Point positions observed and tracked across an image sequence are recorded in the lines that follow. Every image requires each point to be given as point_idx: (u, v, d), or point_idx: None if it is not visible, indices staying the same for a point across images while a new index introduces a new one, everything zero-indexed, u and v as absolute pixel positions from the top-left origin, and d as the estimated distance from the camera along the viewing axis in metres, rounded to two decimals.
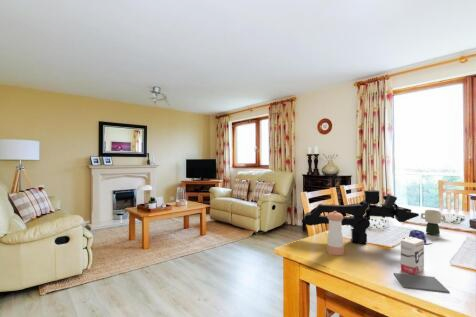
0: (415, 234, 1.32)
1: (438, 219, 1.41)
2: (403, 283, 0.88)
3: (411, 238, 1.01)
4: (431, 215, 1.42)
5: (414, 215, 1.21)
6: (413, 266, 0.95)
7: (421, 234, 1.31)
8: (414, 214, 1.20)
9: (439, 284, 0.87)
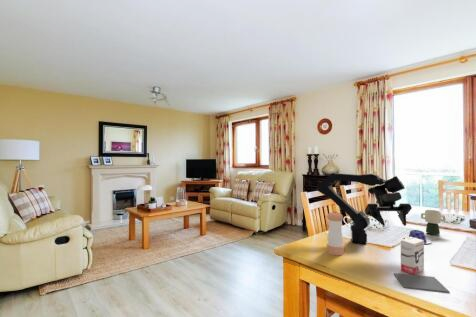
0: (415, 234, 1.31)
1: (438, 219, 1.41)
2: (403, 283, 0.88)
3: (411, 238, 1.01)
4: (431, 215, 1.42)
5: (381, 221, 1.15)
6: (413, 266, 0.95)
7: (421, 234, 1.31)
8: (380, 221, 1.15)
9: (439, 284, 0.87)
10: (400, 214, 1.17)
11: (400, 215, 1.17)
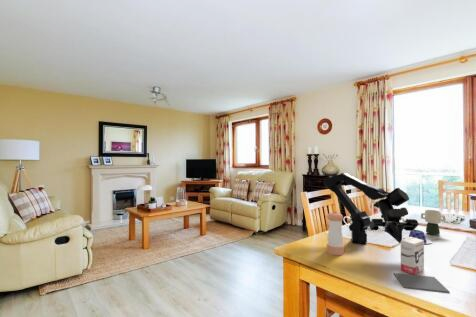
0: (416, 234, 1.31)
1: (438, 219, 1.41)
2: (403, 283, 0.88)
3: (411, 238, 1.01)
4: (431, 215, 1.42)
5: (397, 238, 1.09)
6: (413, 266, 0.95)
7: (421, 234, 1.31)
8: (396, 237, 1.09)
9: (439, 284, 0.87)
10: (396, 230, 1.12)
11: None
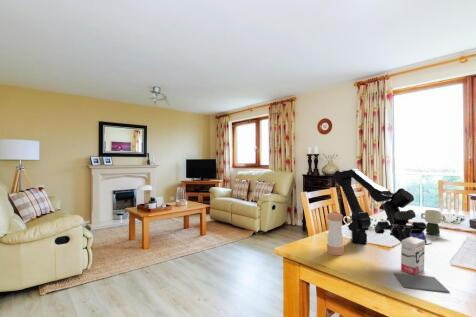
0: (416, 234, 1.31)
1: (438, 219, 1.41)
2: (403, 283, 0.88)
3: (412, 238, 1.01)
4: (431, 215, 1.42)
5: None
6: (413, 266, 0.95)
7: (422, 234, 1.31)
8: None
9: (439, 284, 0.87)
10: (403, 233, 1.07)
11: None
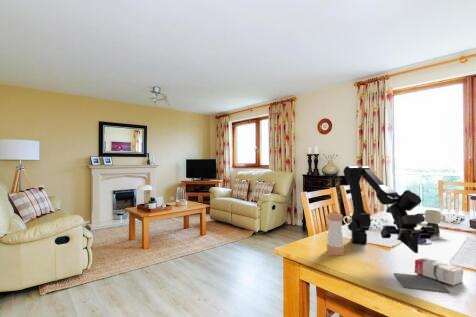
0: None
1: (438, 219, 1.41)
2: (403, 283, 0.88)
3: (460, 273, 0.88)
4: (431, 215, 1.42)
5: (412, 248, 0.98)
6: (424, 275, 0.93)
7: None
8: (411, 247, 0.98)
9: (439, 284, 0.87)
10: None
11: None
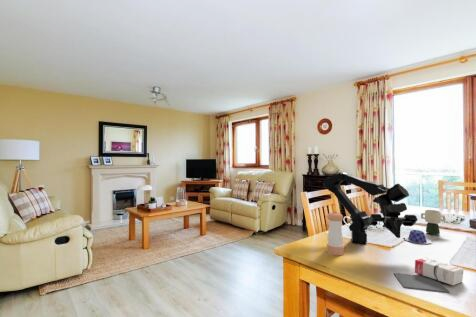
0: (416, 234, 1.31)
1: (438, 219, 1.41)
2: (403, 283, 0.88)
3: (460, 273, 0.88)
4: (431, 215, 1.42)
5: (395, 233, 1.10)
6: (424, 275, 0.93)
7: (422, 234, 1.31)
8: (395, 233, 1.10)
9: (439, 284, 0.87)
10: None
11: None
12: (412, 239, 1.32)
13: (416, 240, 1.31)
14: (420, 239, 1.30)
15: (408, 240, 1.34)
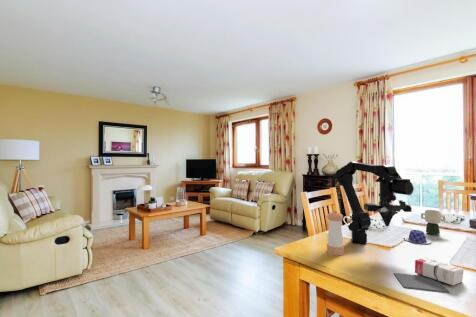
0: (417, 234, 1.31)
1: (438, 219, 1.41)
2: (403, 283, 0.88)
3: (460, 273, 0.88)
4: (431, 215, 1.42)
5: (385, 222, 1.18)
6: (424, 275, 0.93)
7: (422, 234, 1.31)
8: (385, 222, 1.18)
9: (439, 284, 0.87)
10: (387, 213, 1.18)
11: None
12: (412, 239, 1.32)
13: (416, 240, 1.31)
14: (420, 239, 1.30)
15: (408, 240, 1.34)
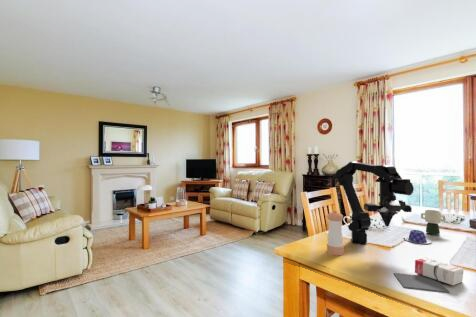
0: (417, 234, 1.31)
1: (438, 219, 1.41)
2: (403, 283, 0.88)
3: (460, 273, 0.88)
4: (431, 215, 1.42)
5: (385, 222, 1.18)
6: (424, 275, 0.93)
7: (422, 234, 1.31)
8: (385, 222, 1.18)
9: (439, 284, 0.87)
10: (387, 213, 1.18)
11: None
12: (412, 239, 1.32)
13: (417, 240, 1.31)
14: (420, 239, 1.30)
15: (408, 240, 1.33)
